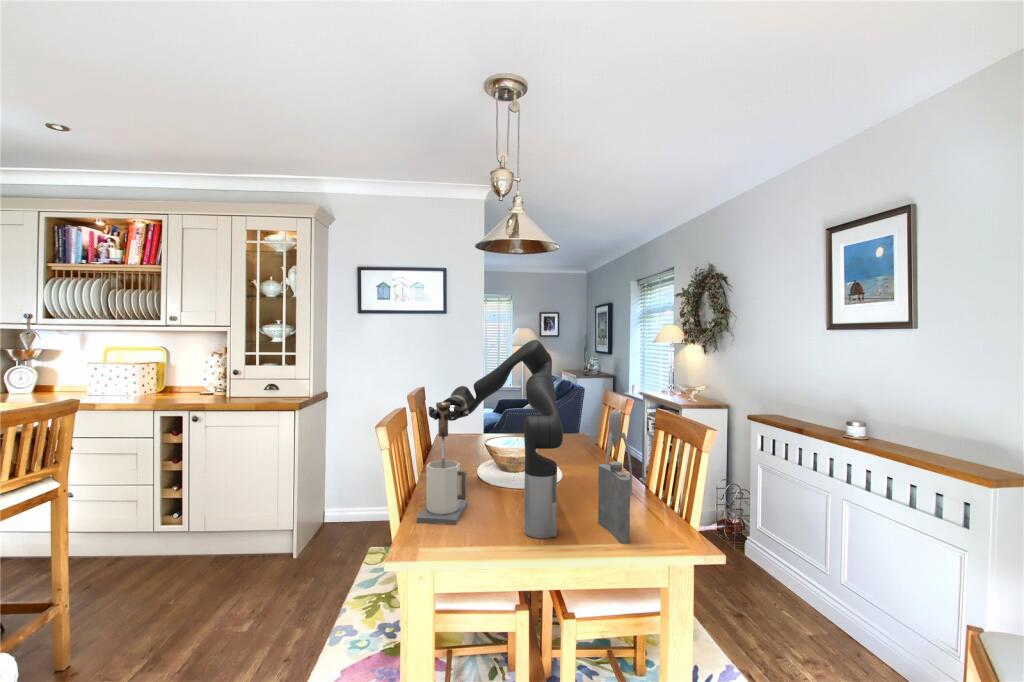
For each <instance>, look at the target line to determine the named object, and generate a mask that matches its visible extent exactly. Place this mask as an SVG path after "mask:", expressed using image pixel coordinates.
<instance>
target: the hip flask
mask: <svg viewBox="0 0 1024 682" xmlns="http://www.w3.org/2000/svg"><path fill="white" fill-rule="evenodd" d="M622 467H623V462H622V461H621V462H620V461H609V464H608V465H607V464H606V463H601V464H598V477H597V478H598V479H597V480H598V485H597V486H598V490H597V491H598V493H597V505H598V506H597V524H598V526H599V525H600V526H601V527H603V528H604V529H605V530H607V532H609V533H610V534H611V535H612V536H613V537H614V538H615V539H616V541H617V543H619V544H622V545H628V544H629V543H630V540H631V539H630V538H631V537H630V535H631V534H630V533H631V529H630V528H631V526H630V525H631V496H630V476H629V475H628V474H626V473H625V472H624V471H623V468H622Z"/></svg>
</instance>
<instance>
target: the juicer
mask: <svg viewBox="0 0 1024 682" xmlns="http://www.w3.org/2000/svg"><path fill="white" fill-rule="evenodd" d="M608 417H609V418H608V426H609V432H608V436H607V445H606V455H605V457H606V458H605V464H607V465H609V463H610V453H611V446H613V449H614V450H616V447H617V446H618V443H619V439H622V441H623V442H624V445H625V449H626V453H627V459H628V460H627V461H628V469H629V470H628V471H629V478H630V497H633V471H632V468H633V467H632V460H631V452H630V448H629V447H630V446H629V443H628V438H627V436H626V433H625V432H624V431H623V432H622V433H621V430H622V414H621V412H620V411H619V410H618V409H616V408H614V409H612V410H611V412H610V413H609V416H608Z"/></svg>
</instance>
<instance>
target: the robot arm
mask: <svg viewBox="0 0 1024 682" xmlns="http://www.w3.org/2000/svg"><path fill="white" fill-rule="evenodd" d="M521 362H522V363H523V364H524V365H525V367H526V368H527V369H528V371H530V374H531V376H530V377H529V378H528V379H527V380H526V384H525V396H526V400H527V403H528V404H529V405H530V407H532V408H533V410H535V411H536V413H538V414H540V415H528V416H527V417H526V418H525V420H524V422H523V423H524V424H523V441H524V490H523V491H524V499H523V500H524V503H523V504H524V506H523V507H524V509H523V510H524V512H523V513H524V516H523V518H524V520H523V526H524V527H523V529H524V530H523V532H524V534H525V535H526V536H528V537H531V538H536V539H547V538H548V539H549V538H553V537H554V538H555V537H556V538H557V535H558V532H557V531H558V496H557V495H558V464H557V462H556V461H554V460H553V459H551V458H548V457H546V456H544V455H541V454H540V453H538V452H537V449H539V450H544V449H545V450H551V449H552V450H553V449H558V448H560V447H561V445H562V444H563V440H564V430H563V424H562V421H561V417H560V414H559V413H560V412H559V410H558V405H557V397H556V390H555V383H554V377H553V374H552V373H553V372H552V371H553V359H552V356H551V354H550V352H549V351H548V350H547V349H546V348H545V346H544V345H543V344H542V343H541V341H539V340H538V339H532V340H529V341H527V342H526V343H524V345H522V346H520V347H519V348H518V349H517V350H516V351H515V352H513V354H511V355H510V356H508V357H507V358H506V359H505V360H504V361H503V362H502V363H500V365H498V366H497V367H496V368H495V369H493V370H492V371H491V372H489V373H488V374H485V375H484V376H482V377H481V378H479V379H478V380H477V381H475V382H474V383H473V391H474V393H475V396H474V395H473V394H472V392H471V391H470V389H469V388H468V386H465V385H461V386H458V387H456V388H455V389H454V390H453V391H452V392H451V394H450V396H449V397H448V398H446V399H444V400H443V401H442V402H450V407H449V408H448V412H447V413H446V420H448V422H449V421H450V422H453V421H456V420H458V419H461V418H465V417H469V415H470V414H472V413H473V412H474V411H476V409H477V408H478V407H479V406H480V404H482V402H483V401H485V400H486V399H487V398H489V397H490V396H492V395H494V394H495V393H497V392H498V391H499V390H501V389H502V388H504V387H503V386H505V384H506V382H507V380H508V378H509V376H510V374H511V373H512V370H513V369H514V368H515V367H516V365H518V364H519V363H521ZM428 416H429V417H430V418H432V419H433V420H434V421H437V420H438V408H437V407H436V408H435V407H433V406H429V407H428Z"/></svg>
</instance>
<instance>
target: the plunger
mask: <svg viewBox="0 0 1024 682" xmlns="http://www.w3.org/2000/svg"><path fill="white" fill-rule="evenodd" d="M449 407H450V402H443V401H438V402H436V403H435V408H436V409H437V408H438V419H437V420H438V425H437V427H438V430H437V432H438V433H437V434H438V437H439V438H441V460H442V469H445V460H446V437H448V436H449V420H446V413H447V412H448V408H449Z"/></svg>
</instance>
